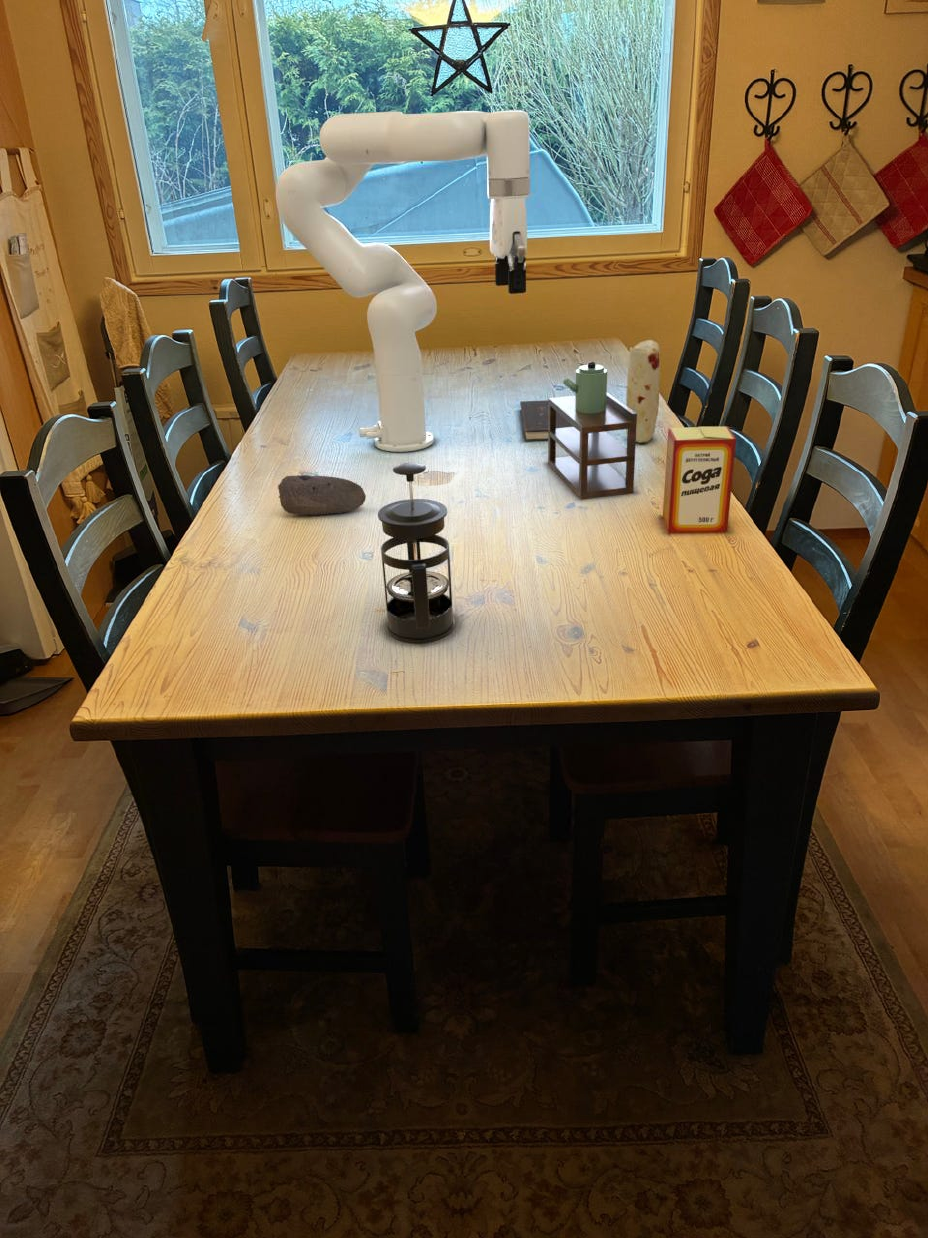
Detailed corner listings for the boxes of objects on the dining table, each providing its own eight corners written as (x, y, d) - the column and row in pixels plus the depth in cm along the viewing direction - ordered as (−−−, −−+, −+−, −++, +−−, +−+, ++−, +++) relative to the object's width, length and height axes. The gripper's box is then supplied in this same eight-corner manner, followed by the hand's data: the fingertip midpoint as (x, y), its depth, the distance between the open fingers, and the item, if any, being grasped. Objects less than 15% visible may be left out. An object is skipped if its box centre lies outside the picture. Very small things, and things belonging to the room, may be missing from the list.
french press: (384, 611, 133) (370, 455, 122) (450, 605, 134) (442, 449, 123) (388, 652, 123) (373, 486, 112) (460, 645, 124) (451, 479, 113)
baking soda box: (668, 533, 153) (674, 437, 146) (662, 517, 159) (668, 425, 151) (727, 532, 153) (736, 436, 145) (719, 516, 158) (728, 424, 151)
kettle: (567, 416, 168) (568, 367, 164) (558, 408, 173) (558, 360, 169) (610, 411, 169) (612, 363, 165) (599, 403, 174) (601, 356, 170)
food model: (658, 446, 192) (664, 347, 183) (625, 446, 193) (629, 347, 184) (655, 431, 201) (661, 336, 191) (624, 431, 202) (628, 336, 192)
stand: (580, 499, 168) (582, 419, 161) (548, 464, 185) (548, 390, 178) (633, 492, 170) (637, 413, 163) (596, 458, 187) (598, 385, 180)
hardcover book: (524, 441, 199) (524, 430, 198) (520, 410, 219) (520, 401, 218) (600, 438, 198) (600, 427, 197) (589, 408, 219) (589, 398, 217)
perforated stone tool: (368, 506, 169) (365, 469, 166) (365, 517, 165) (361, 479, 161) (286, 508, 170) (281, 471, 167) (280, 519, 165) (275, 482, 162)
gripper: (477, 187, 175) (480, 283, 183) (500, 193, 160) (502, 297, 168) (516, 184, 176) (517, 280, 184) (542, 190, 161) (542, 294, 169)
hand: (510, 288), depth 176 cm, fingers open, 9 cm apart
